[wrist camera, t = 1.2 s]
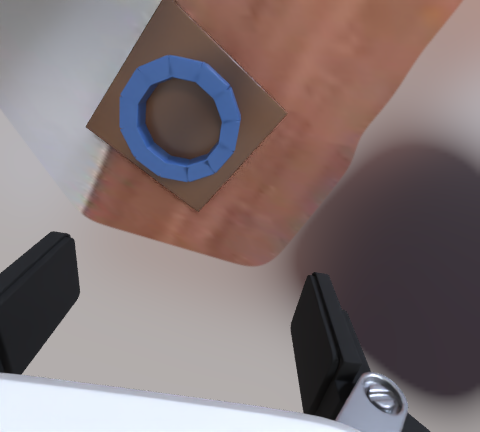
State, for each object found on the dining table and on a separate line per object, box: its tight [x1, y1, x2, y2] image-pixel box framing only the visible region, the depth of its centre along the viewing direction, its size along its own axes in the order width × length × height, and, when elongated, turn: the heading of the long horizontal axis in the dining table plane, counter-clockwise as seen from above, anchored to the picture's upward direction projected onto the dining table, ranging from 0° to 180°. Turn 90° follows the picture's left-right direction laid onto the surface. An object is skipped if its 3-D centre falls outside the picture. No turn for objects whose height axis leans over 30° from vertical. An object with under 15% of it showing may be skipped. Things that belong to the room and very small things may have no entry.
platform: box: [86, 0, 287, 212], centre depth 29 cm, size 14×14×3 cm
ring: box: [120, 55, 241, 182], centre depth 27 cm, size 11×11×2 cm
